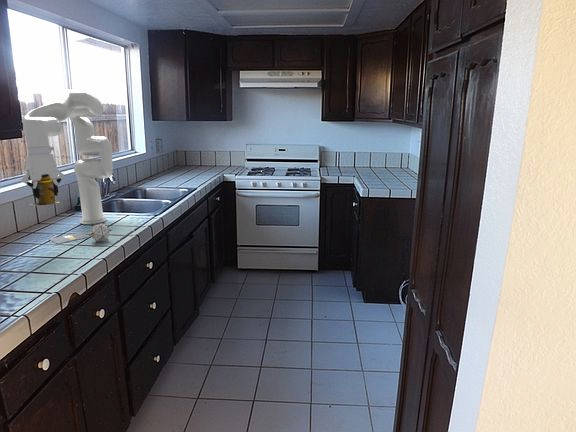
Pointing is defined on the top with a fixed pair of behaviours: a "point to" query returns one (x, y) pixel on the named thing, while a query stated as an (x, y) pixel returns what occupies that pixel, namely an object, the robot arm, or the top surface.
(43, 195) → the condiment
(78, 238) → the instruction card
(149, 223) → the top surface
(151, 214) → the top surface
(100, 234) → the game die
